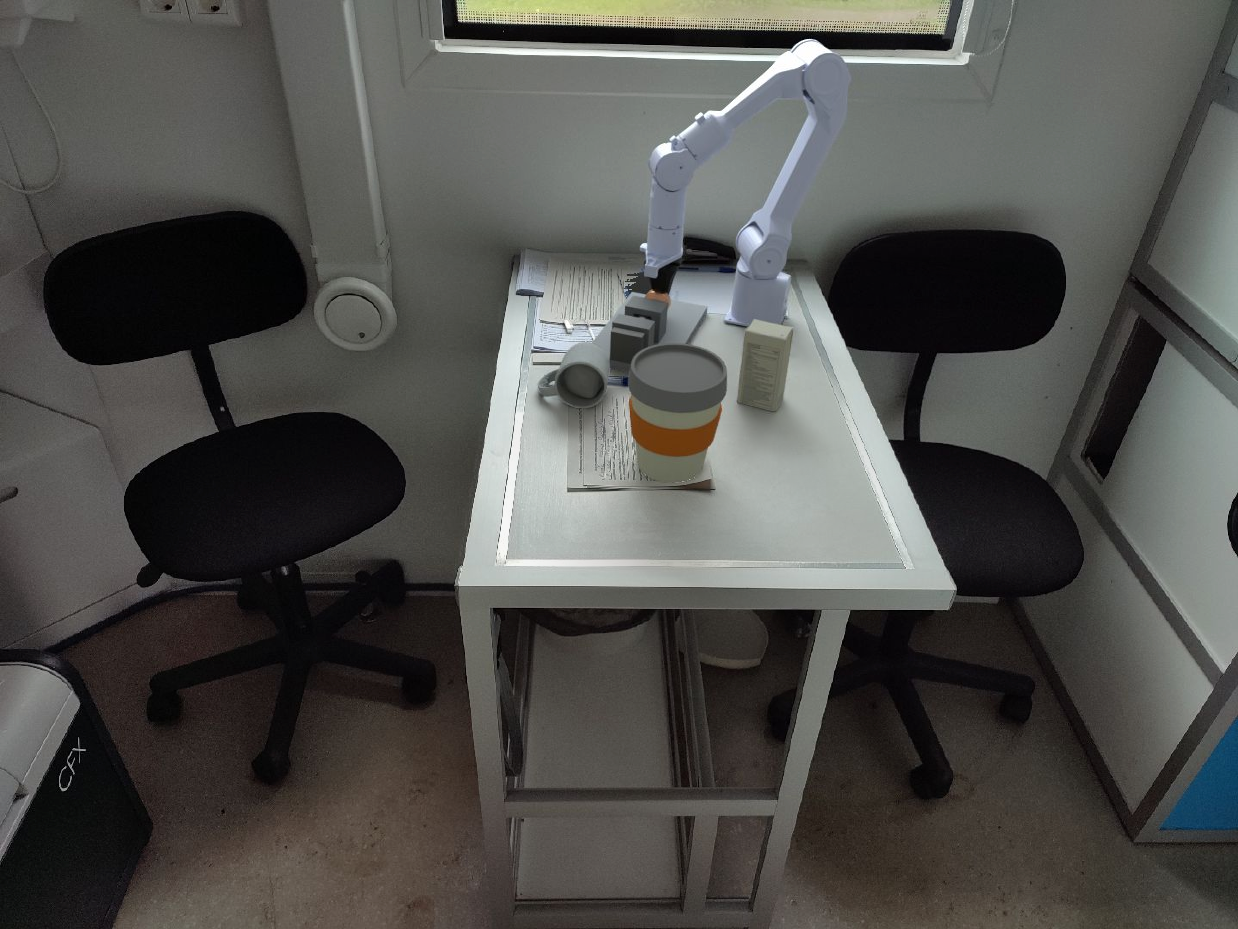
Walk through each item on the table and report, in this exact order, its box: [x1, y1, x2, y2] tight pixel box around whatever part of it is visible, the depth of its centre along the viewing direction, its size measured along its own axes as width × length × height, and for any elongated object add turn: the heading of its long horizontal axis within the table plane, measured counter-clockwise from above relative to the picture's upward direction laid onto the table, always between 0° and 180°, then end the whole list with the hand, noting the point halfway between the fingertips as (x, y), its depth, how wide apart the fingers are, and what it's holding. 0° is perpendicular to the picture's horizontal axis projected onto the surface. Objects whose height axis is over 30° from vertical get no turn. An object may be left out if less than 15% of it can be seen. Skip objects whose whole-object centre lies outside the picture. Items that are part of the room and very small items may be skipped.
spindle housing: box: [591, 292, 708, 373], centre depth 141 cm, size 14×24×7 cm, turn 161°
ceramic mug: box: [537, 341, 611, 409], centre depth 127 cm, size 11×8×8 cm
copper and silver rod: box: [637, 288, 672, 320], centre depth 140 cm, size 4×12×4 cm, turn 161°
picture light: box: [563, 316, 596, 341], centre depth 145 cm, size 14×4×2 cm, turn 13°
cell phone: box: [624, 268, 652, 298], centre depth 159 cm, size 7×14×1 cm, turn 10°
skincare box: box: [736, 319, 795, 412], centre depth 126 cm, size 6×4×12 cm
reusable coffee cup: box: [627, 343, 728, 484], centre depth 111 cm, size 13×12×15 cm
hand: (660, 300), depth 146 cm, fingers closed
